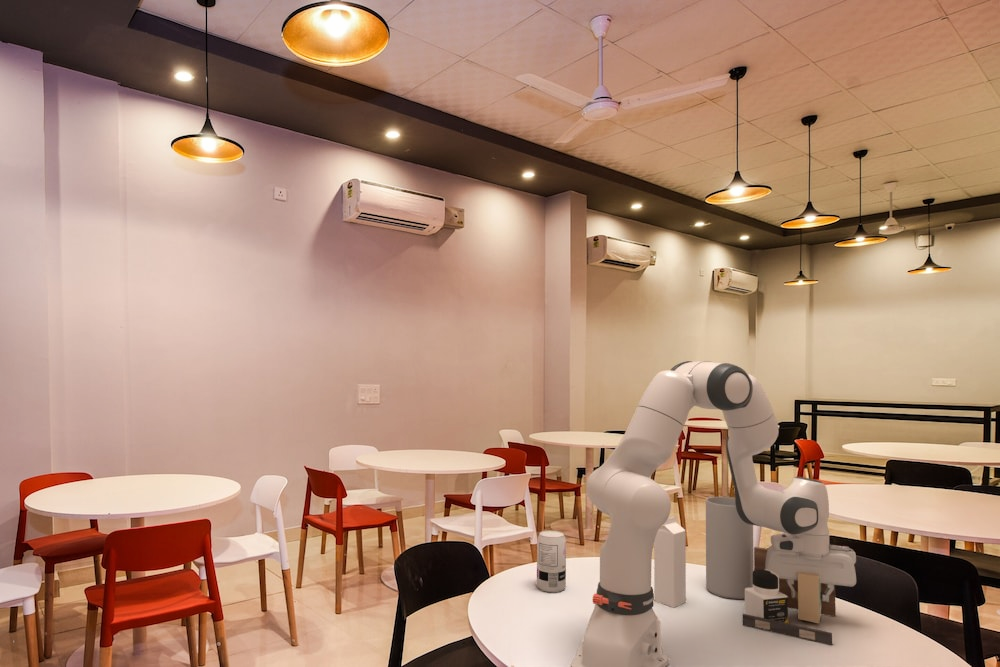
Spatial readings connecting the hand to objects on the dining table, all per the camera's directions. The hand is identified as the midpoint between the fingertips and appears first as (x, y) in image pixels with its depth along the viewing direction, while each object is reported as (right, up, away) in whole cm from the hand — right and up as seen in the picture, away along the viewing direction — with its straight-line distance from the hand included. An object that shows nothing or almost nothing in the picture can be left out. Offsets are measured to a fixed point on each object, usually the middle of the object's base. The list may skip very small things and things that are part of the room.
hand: (809, 599), depth 147 cm
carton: (0, -4, 0) cm, 4 cm away
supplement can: (-63, -6, +19) cm, 66 cm away
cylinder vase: (-13, -6, +18) cm, 23 cm away
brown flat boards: (-5, -5, 0) cm, 7 cm away
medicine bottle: (-11, -5, -1) cm, 13 cm away
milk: (-32, -6, +10) cm, 34 cm away
